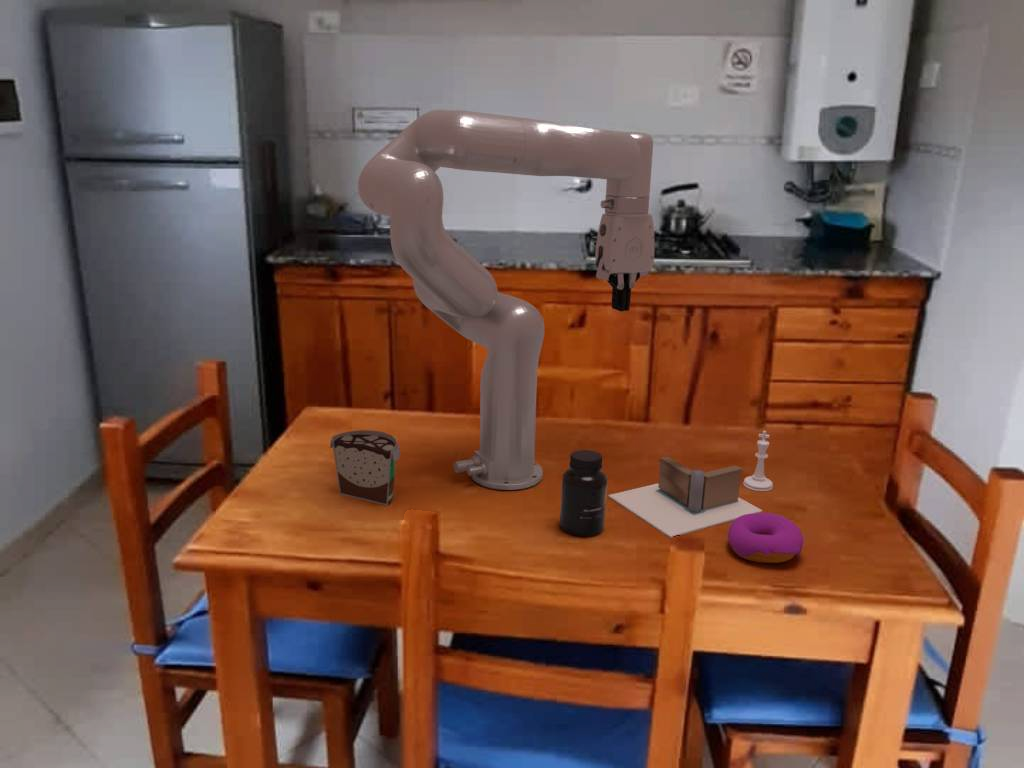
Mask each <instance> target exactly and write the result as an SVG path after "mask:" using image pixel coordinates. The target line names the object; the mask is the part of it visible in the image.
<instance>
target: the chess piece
mask: <svg viewBox="0 0 1024 768" xmlns="http://www.w3.org/2000/svg"><path fill="white" fill-rule="evenodd" d="M758 438H762V439H759V440H757V441H756V444H757V449H758V452H755V454H754V456H755V457H757V463H756V467H755V470H754V473H753V474H752V475H749V476H746V477H745V478H744V479H743V482H742V483H743V485H744V486H743V487H745V488H747V489H749V490H750V491H751V490H752V491H756V492H768V491H771V490H772V489H773V488H774V486H773V484H774V483H773V482H772V480H770V479H769V478H767V476H765V459H767V458H768V457H769V454H768V453H766V452H767V449H768V447H769V445H770V442H769V441H768V440H766V439H770V434H767V430H762V434H761V433H759V434H758Z"/></svg>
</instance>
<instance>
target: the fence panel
mask: <svg viewBox="0 0 1024 768" xmlns="http://www.w3.org/2000/svg"><path fill="white" fill-rule="evenodd" d="M659 462H660V464H659V472H658V473H659V476H658V483H659V485H658V488H660V489H662V490H663V491H665V492H666V493H668V494H669V495H671V496H673V497H674V498H676V499H677V500H679V501H680V502H682V503H684V504H685V505H689V495H690V484H691V474H692V471H693V470H692V469H690V468H688V467H687V466H686V465H683V464H681V463H680V462H677V461H676V460H674V459H673V458H671V457H669V456H663V457H659Z"/></svg>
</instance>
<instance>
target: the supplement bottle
mask: <svg viewBox="0 0 1024 768" xmlns="http://www.w3.org/2000/svg"><path fill="white" fill-rule="evenodd" d="M568 464H569V468H566V469H565V471H564V472H563V473H562V477H561V478H562V479H561V493H560V494H561V496H560V508H559V509H560V511H559V525H560V528H561V529H562V530H563V531H564V532H565V533H568V534H569V535H572V536H576V537H583V538H584V537H592V536H593V537H594V536H596V535H598V534H600V533H601V532H602V531H603V529H604V527H605V518H606V507H607V506H606V504H607V493H608V491H607V489H608V478H607V475H606V473H605V472H604V471H603V470H602V469H603V455H602V454H601V452H600V453H599V452H598V451H595V450H590V449H578V450H574V451H572V452H571V453H570V459H569V463H568Z"/></svg>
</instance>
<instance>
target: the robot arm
mask: <svg viewBox="0 0 1024 768" xmlns="http://www.w3.org/2000/svg"><path fill="white" fill-rule="evenodd" d="M653 150H654V139H653V137H652V136H651V134H649V133H646V132H632V131H630V132H629V131H620V130H619V131H618V130H608V129H601V128H594V127H585V126H577V125H570V124H562V123H557V122H552V121H549V120H548V121H546V120H542V119H541V120H540V119H533V118H527V117H519V116H509V115H501V114H492V113H485V112H478V111H469V110H460V109H459V110H457V109H456V110H454V109H453V110H452V109H451V110H446V109H444V110H443V109H436V110H435V109H433V110H430V111H427V112H425V113H424V114H422V115H420V116H418V118H416V119H415V120H414V121H412V122H411V123H410V124H409V125H408V126H406V127H405V128H404V129H403V130H401V131H400V133H399V134H397V135H396V136H395V137H394V138H393V139H392V140H391V141H389V143H386V145H385V146H383V148H381V149H380V150H379V151H378V152H377V153H376V154H375V155H373V157H371V159H369V161H368V162H367V163H366V164H365V165H364V167H363V168H362V170H361V172H360V173H359V178H358V181H357V190H358V194H359V198H360V200H361V201H362V203H363V204H364V205H365V207H367V208H368V209H369V210H371V211H372V212H374V213H376V214H379V215H381V216H382V215H383V216H386V217H389V218H390V221H389V238H390V244H391V246H390V247H391V250H392V253H393V256H394V258H395V260H396V261H397V263H398V264H399V265H398V266H400V267H401V268H402V270H404V272H406V273H407V274H408V276H410V278H412V284H413V289H414V292H415V294H416V296H417V298H418V300H419V301H420V303H422V304H423V305H424V306H425V307H426V308H427V309H428V310H429V311H431V312H432V313H433V314H435V316H437V317H438V318H439V319H441V320H442V321H443V322H444V323H446V324H447V325H448V326H449V327H451V328H452V329H453V330H454V331H456V332H457V333H458V334H460V335H461V336H462V337H464V338H465V339H467V340H469V341H471V342H473V343H474V344H478V345H480V346H483V347H484V348H486V349H488V351H487V356H486V359H485V361H484V363H483V365H482V369H481V373H480V384H479V385H480V387H479V388H480V389H479V390H480V392H479V393H480V400H479V401H480V403H479V407H480V410H479V449H478V450H474V451H473V452H474V454H473V456H471V457H470V458H469V459H466V460H465V459H464V460H458V461H455V462H453V469H454V472H455V473H456V474H459V473H464V472H466V473H467V475H468V476H470V477H471V479H472V480H473V481H474V482H475V483H476V484H478V485H480V486H483V487H485V488H489V489H493V490H499V491H500V490H501V491H502V490H503V491H515V490H516V491H517V490H523V489H527V488H530V487H534V486H535V485H537V484H539V483H540V482H541V480H542V479H543V475H544V469H543V467H542V466H541V465H540V464H539V463H537V462H536V461H535V449H536V445H535V444H536V419H537V417H536V416H537V392H538V391H537V389H538V388H537V386H538V369H539V359H540V356H541V355H540V354H541V350H542V348H543V347H542V346H543V342H544V337H545V322H544V319H543V317H542V314H541V312H540V311H539V310H538V309H537V308H536V307H535V306H534V305H533V304H531V303H530V302H528V301H526V300H524V299H521V298H520V297H519V298H518V297H516V296H514V295H513V296H512V295H510V294H505V293H502V292H499V291H498V286H497V285H498V284H497V282H496V280H495V278H494V277H493V275H492V274H491V272H490V271H489V270H488V269H487V268H486V267H485V266H484V265H482V264H481V262H479V261H478V260H477V259H475V258H474V257H473V256H471V254H469V253H468V252H467V251H466V249H464V248H463V247H462V246H460V245H459V244H458V243H457V242H456V241H455V240H454V238H453V237H451V235H450V234H449V233H448V232H447V230H446V229H445V227H444V223H443V222H444V221H443V207H444V187H443V185H442V184H443V183H442V181H441V179H440V178H439V176H438V175H437V173H436V172H437V171H438V170H439V169H440V168H446V169H447V168H448V169H453V170H461V171H471V172H484V173H498V174H500V173H501V174H511V175H521V176H522V175H523V176H532V177H533V176H534V177H577V178H585V179H586V178H587V179H600V180H606V185H605V188H606V189H605V200H601V201H600V207H601V208H602V209H604V213H602V215H601V218H600V223H599V224H598V225H599V226H598V232H597V238H596V244H595V253H594V254H595V255H594V257H595V258H594V259H595V260H594V261H595V268H596V269H597V271H596V274H595V275H596V276H595V278H597V279H599V280H605V281H606V282H607V283H608V284H609V287H611V288H612V290H611V291H612V292H611V308H612V309H613V310H616V311H619V312H621V313H623V312H628V311H630V307H631V296H632V289H634V288H635V285H636V282H637V281H638V280H639V279H640V278H642V277H646V276H648V275H649V271H650V270H652V269H653V268H654V263H655V228H654V227H655V226H654V220H653V214H651V213H650V214H649V209H650V208H649V207H650V194H651V193H650V192H651V181H652V180H651V179H652V167H653V165H652V163H653V152H654V151H653Z"/></svg>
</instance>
